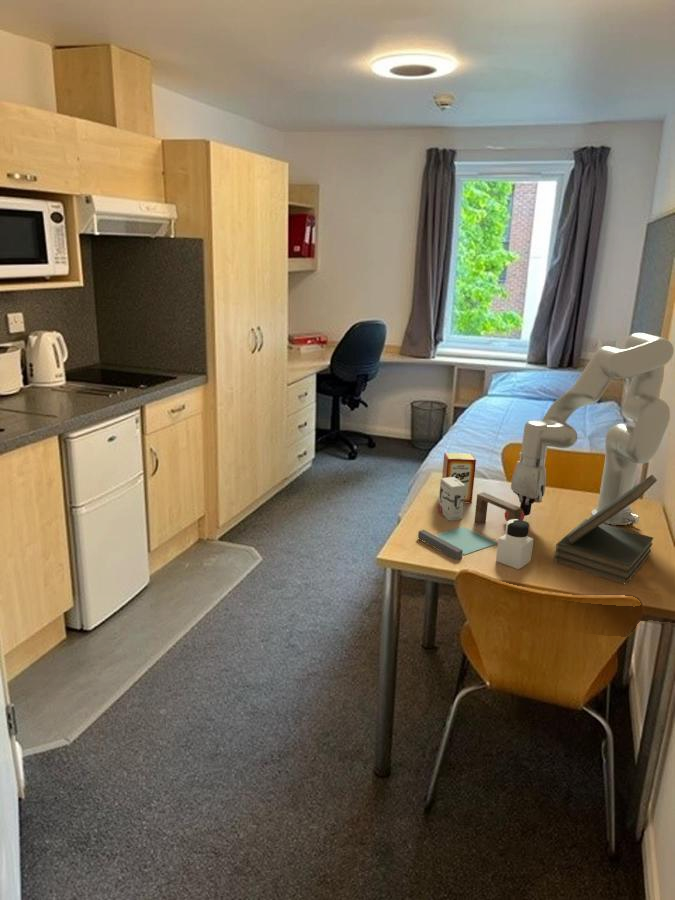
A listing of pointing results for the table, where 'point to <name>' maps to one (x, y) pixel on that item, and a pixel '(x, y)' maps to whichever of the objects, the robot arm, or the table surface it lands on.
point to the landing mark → (466, 540)
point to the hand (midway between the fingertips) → (524, 514)
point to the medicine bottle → (515, 544)
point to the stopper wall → (440, 544)
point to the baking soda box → (461, 471)
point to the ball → (508, 515)
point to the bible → (607, 542)
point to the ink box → (451, 498)
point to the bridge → (486, 498)
